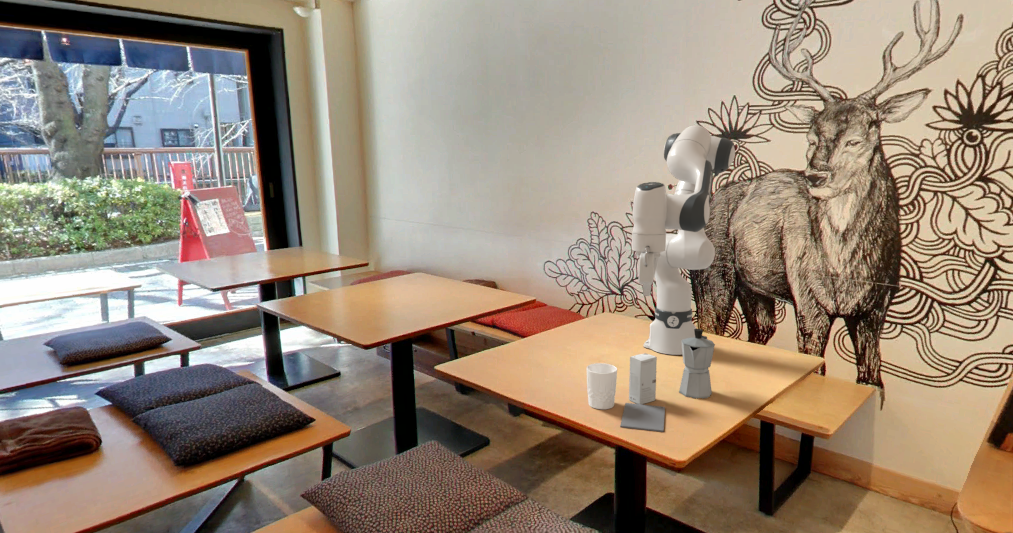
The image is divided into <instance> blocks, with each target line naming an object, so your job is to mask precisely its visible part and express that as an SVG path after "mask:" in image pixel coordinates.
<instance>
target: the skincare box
mask: <svg viewBox="0 0 1013 533" xmlns="http://www.w3.org/2000/svg"><path fill="white" fill-rule="evenodd" d="M657 360H658V358H657V356H655V355H652V354H650V353H646V352H645V353H640V354H639V353H638V354H635V355H632V356H629V384H628V400H629V401H630V402H631V403H633V404H642V405H645V404H648V403H651V402H654V401H655V400H656V398H657V397H656V396H657V395H656V394H657V393H656V391H657V389H656V388H657Z"/></svg>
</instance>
